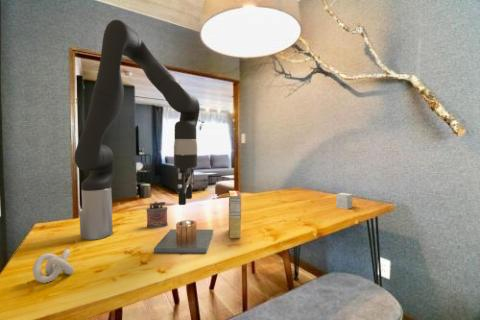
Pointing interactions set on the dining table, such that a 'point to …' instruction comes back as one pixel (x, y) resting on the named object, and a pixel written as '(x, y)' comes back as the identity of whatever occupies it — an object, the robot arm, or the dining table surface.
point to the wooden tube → (186, 231)
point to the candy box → (234, 214)
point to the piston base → (174, 246)
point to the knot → (49, 268)
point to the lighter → (156, 215)
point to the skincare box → (344, 200)
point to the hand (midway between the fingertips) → (185, 201)
